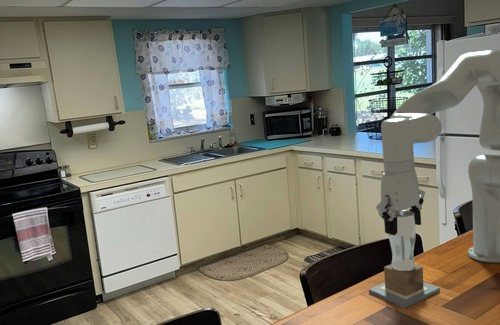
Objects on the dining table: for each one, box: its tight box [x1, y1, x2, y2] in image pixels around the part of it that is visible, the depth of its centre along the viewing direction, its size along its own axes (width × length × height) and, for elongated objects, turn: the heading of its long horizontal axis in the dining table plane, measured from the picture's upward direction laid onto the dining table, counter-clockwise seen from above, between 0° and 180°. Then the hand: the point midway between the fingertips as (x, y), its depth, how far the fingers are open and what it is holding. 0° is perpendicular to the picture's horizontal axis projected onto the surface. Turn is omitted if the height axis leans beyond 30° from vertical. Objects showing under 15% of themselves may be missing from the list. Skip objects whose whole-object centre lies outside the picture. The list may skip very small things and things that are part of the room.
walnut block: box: [383, 263, 424, 296], centre depth 125 cm, size 7×7×6 cm
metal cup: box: [387, 209, 417, 272], centre depth 123 cm, size 7×7×15 cm
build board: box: [368, 281, 441, 309], centre depth 125 cm, size 14×12×1 cm
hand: (403, 228), depth 123 cm, fingers open, 9 cm apart
